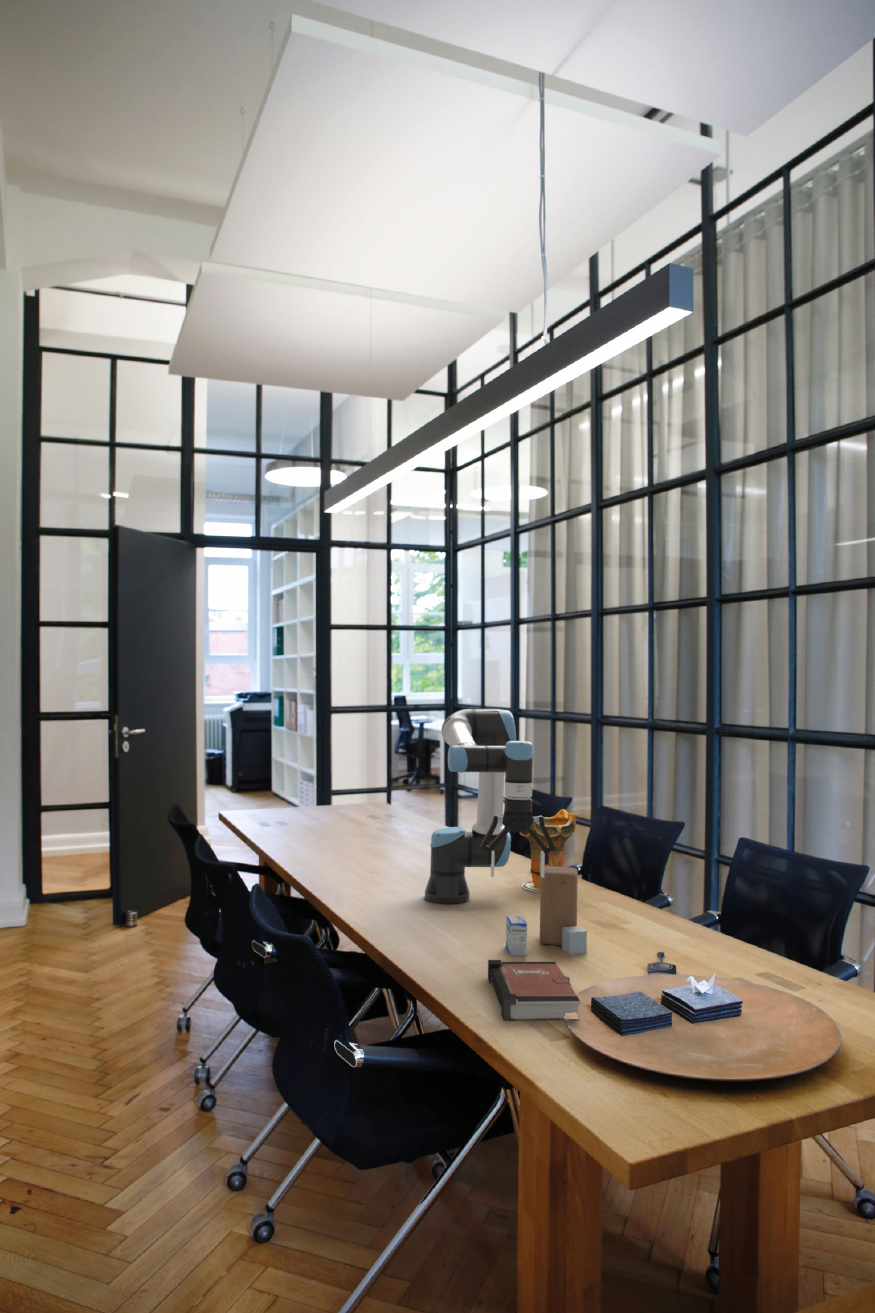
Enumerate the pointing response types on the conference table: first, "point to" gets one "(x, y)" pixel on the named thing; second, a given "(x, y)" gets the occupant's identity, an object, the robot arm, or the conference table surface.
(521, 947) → the medicine box
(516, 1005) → the book
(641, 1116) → the conference table surface
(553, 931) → the wooden block
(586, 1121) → the conference table surface
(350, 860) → the conference table surface
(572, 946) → the slate block
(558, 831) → the decorative vase
